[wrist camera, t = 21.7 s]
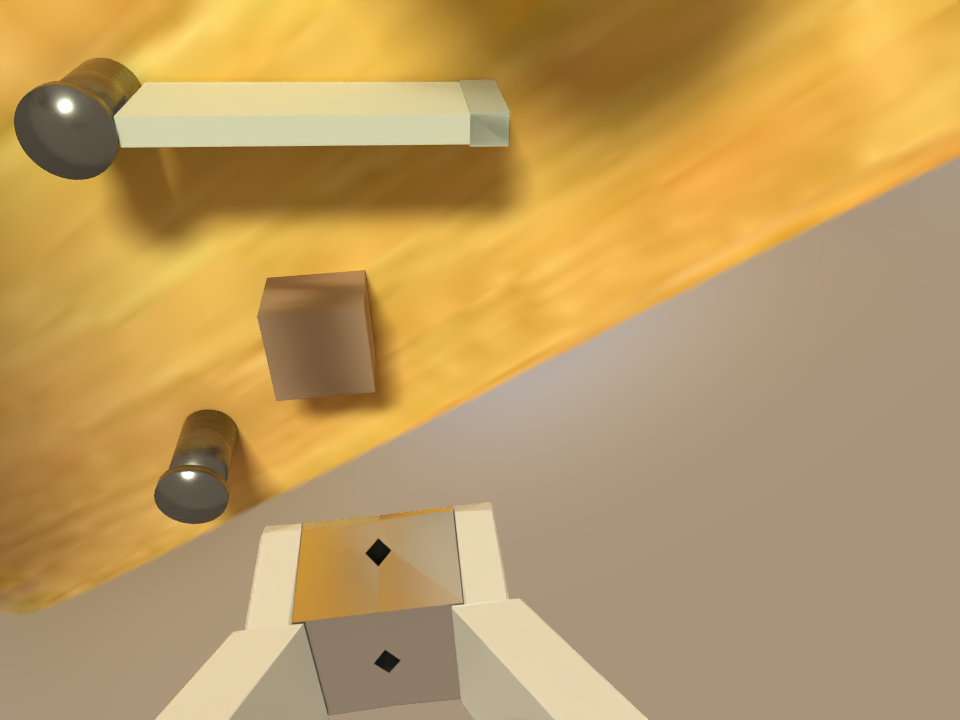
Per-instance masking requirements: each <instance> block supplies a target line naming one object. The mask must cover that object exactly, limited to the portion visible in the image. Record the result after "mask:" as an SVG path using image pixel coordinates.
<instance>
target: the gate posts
mask: <svg viewBox="0 0 960 720" xmlns="http://www.w3.org/2000/svg"><path fill="white" fill-rule="evenodd" d="M141 87H142V86H141V84H140V82H139V81H138V79H137V78H136V76H135V75H134V74H133V73H132V72H131V71H130V70H129V69H128V68H126V67H125V66H124V65H122V64H120V63H118V62H116V61H113V60H110V59H105V58H95V59H90V60H87V61H85V62H84V63H82V64H81V65H79V66H78V67H77V68H75V69H74V70H73V71H72V72H70V73H69V74H68V75H66V76H65V77H64V78H63V79H61V80H60V81H54V82H48V83H44V84H42V85H40V86H37V87H36V88H34V89H33V90H32V91H30V92H29V93H28V94H26V95H25V96H24V97H23V98H22V100H21V101H20V102H19V104H18V106H17V108H16V112H15V117H14V126H15V132H16V135H17V138H18V141H19V143H20V145H21V146H22V148H23V150H24V151H25V152H26V154H27V155H28V156H29V157H30V158H31V159H32V160H33V161H34V162H35V163H36V164H37V165H38V166H40V167H41V168H43V169H44V170H46V171H48V172H49V173H52V174H54V175H56V176H59V177H62V178H67V179H74V180H82V179H89V178H92V177H95V176H97V175H99V174H101V173H102V172H104V171H105V170H106V169H107V168H108V167H109V166H110V165H111V163H112V162H113V161H114V160H115V158H116V157H117V155H118V152H119V150H120V142H119V138H118V133H117V129H116V125H115V120H114V115H115V114H116V113H117V112H118V111H119V110H120V109H121V108H122V107H123V106H124V105H125V104H126V103H127V102H128V101H129V99H130V98H131V97H132V96H133V95H134V94H135V93H136V92H137V91H138V90H139V89H140V88H141ZM236 438H237V427H236V424H235V423H234V421H233V420H232V419H231V418H230V417H229V416H227V415H226V414H224V413H222V412H219V411H216V410H200V411H197V412H194V413H192V414H191V415H189V416H188V417H187V418H186V420H185V422H184V424H183V427H182V430H181V433H180V436H179V439H178V442H177V446H176V449H175V452H174V455H173V458H172V461H171V464H170V467H169V470H167V471H166V472H165V473H164V474H163V475H162V476H161V477H160V479H159V481H158V483H157V486H156V489H155V494H154V497H155V502H156V504H157V506H158V508H159V509H160V510H161V511H162V512H163V513H164V514H165V515H167V516H168V517H170V518H172V519H174V520H176V521H179V522H183V523H189V524H200V523H205V522H209V521H212V520H214V519H216V518H217V517H219V516H220V515H221V514H222V513H223V512H224V510H225V509H226V506H227V503H228V498H229V487H228V484H227V482H226V481H227V477H228V472H229V468H230V464H231V459H232V455H233V451H234V447H235V442H236Z"/></svg>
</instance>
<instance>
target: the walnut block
mask: <svg viewBox="0 0 960 720" xmlns="http://www.w3.org/2000/svg"><path fill="white" fill-rule="evenodd" d="M257 317H258V321H259V326H260V330H261V335H262V339H263V344H264V348H265V353H266V357H267V361H268V366H269V370H270V375H271V379H272V384H273V388H274V393H275V397H276V401H283V400H294V399H305V398H316V397H327V396H339V395H350V394H361V393H372V392H375V354H376V351H375V343H374V335H373V328H372V320H371V312H370V304H369V297H368V289H367V281H366V274H365V270H362V271H349V272H336V273H324V274H311V275H299V276H286V277H273V278H267V280H266V284H265V288H264V292H263V296H262V300H261V304H260V308H259V312H258V316H257Z"/></svg>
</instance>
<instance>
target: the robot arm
mask: <svg viewBox="0 0 960 720" xmlns="http://www.w3.org/2000/svg"><path fill="white" fill-rule="evenodd" d="M454 699H455V700H456V699H461V703H462V704H463V705H464V707H465V708H466V709H467V711H468V712H469V713H470V715H471V716H472V717H473V719H474V720H648V719H647V718H646V717H645V716H644V715H643V714H642V713H641V712H640V711H639V710H637V709H636V708H635V707H634V706H633V705H632V704H631V703H630V702H629V701H628V700H627V699H626V698H625V697H624V696H623V695H622V694H621V693H620V692H619V691H618V690H616V689H615V688H614V687H613V686H612V685H611V684H610V683H609V682H608V681H607V680H606V679H605V678H604V677H603V676H602V675H600V673H599V672H597V671H596V670H595V669H594V668H593V667H592V666H591V665H590V664H589V663H588V662H587V661H586V660H585V659H584V658H583V657H582V656H581V655H580V654H579V653H577V651H575V650H574V649H573V648H572V647H571V646H570V645H569V644H568V643H567V642H566V641H565V640H564V639H563V638H562V637H561V636H560V635H559V634H558V633H557V632H556V631H554V630H553V629H552V628H551V627H550V626H549V625H548V624H547V623H546V622H545V621H544V620H543V619H542V618H541V617H540V616H539V615H538V614H537V613H536V612H534V611H533V610H532V609H531V608H530V607H529V606H528V605H527V604H526V603H525V602H524V601H523V600H522V599H521V598H518V599H509V595H508V590H507V585H506V578H505V573H504V567H503V561H502V555H501V549H500V543H499V538H498V533H497V526H496V520H495V514H494V509H493V506H492V505H491V503H490V502H487V503H479V504H470V505H462V506H454V510H453V507H446V508H438V509H429V510H421V511H412V512H405V513H396V514H387V515H380V516H374V517H362V518H349V519H338V520H326V521H315V522H305V523H302V524H290V525H276V526H266V527H265V529H264V531H263V533H262V535H261V538H260V544H259V550H258V555H257V561H256V567H255V573H254V579H253V585H252V591H251V596H250V602H249V608H248V615H247V620H246V626H245V630H242V631H236V632H232V633H231V635H230V636H229V637H228V638H227V639H226V640H225V641H224V642H223V644H222V645H221V646H220V647H219V648H218V649H217V651H215V653H214V654H213V655H212V656H211V657H210V658H209V659H208V660H207V662H206V663H205V664H204V665H203V666H202V667H201V668H200V669H199V671H198V672H197V673H196V674H195V675H194V676H193V677H192V678H191V680H190V681H189V682H188V683H187V684H186V685H185V686H184V687H183V689H182V690H181V691H180V692H179V693H178V694H177V695H176V696H175V698H174V699H173V700H172V701H171V702H170V703H169V704H168V706H167V707H166V708H165V709H164V710H163V711H162V712H161V713H160V714H159V716H158V717H157V718H156V719H155V720H329V718H328V716H329V715H335V714H341V713H348V712H354V711H361V710H368V709H375V708H381V707H387V706H394V705H404V704H415V703H425V702H435V701H445V700H454Z"/></svg>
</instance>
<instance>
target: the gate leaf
mask: <svg viewBox="0 0 960 720" xmlns="http://www.w3.org/2000/svg"><path fill="white" fill-rule="evenodd" d="M114 120H115V125H116V129H117V133H118V138H119V142H120V146H121V148H125V147H233V146H341V145H449V144H469V146H470V147H493V146H509V126H510V110H509V108H508V106H507V104H506V102H505V100H504V98H503V96H502V94H501V92H500V89H499V87H498V85H497V83H496V81H495V79H488V80H459V82H145V83H144V85H143V86H142V87H141V88H140V89H139V90H138V91H137V92H136V93H135V94H134V95H133V96H132V97H131V98H130V99H129V101H128V102H127V103H126V104H125V105H124V106H123V107H122V108H121V109H120V110H119V111H118V112H117V113H116V114H115V115H114Z"/></svg>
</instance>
